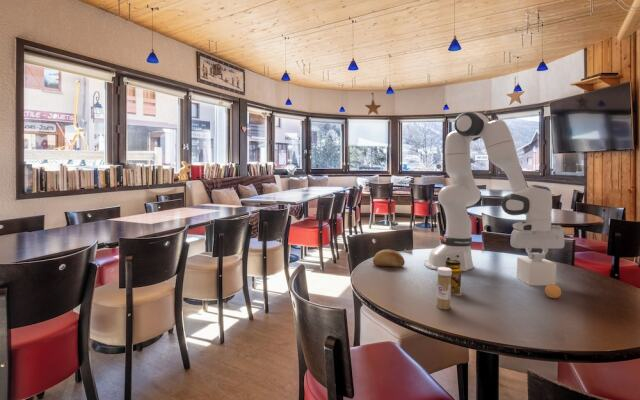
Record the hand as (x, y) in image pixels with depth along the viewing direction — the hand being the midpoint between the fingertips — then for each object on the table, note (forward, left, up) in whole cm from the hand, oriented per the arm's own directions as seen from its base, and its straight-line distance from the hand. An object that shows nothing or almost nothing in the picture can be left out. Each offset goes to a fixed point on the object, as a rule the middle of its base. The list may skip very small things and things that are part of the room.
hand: (536, 258), depth 151 cm
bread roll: (-57, +22, -10) cm, 62 cm away
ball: (-4, -19, -7) cm, 21 cm away
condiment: (-39, -13, -10) cm, 42 cm away
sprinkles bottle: (-46, -29, -10) cm, 55 cm away
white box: (0, 0, -10) cm, 10 cm away
